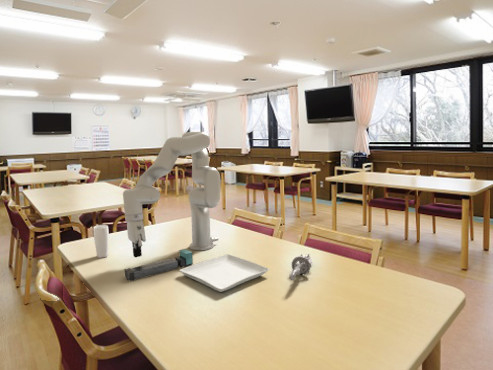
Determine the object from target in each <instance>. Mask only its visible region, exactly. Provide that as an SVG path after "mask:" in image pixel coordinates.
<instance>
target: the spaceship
mask: <svg viewBox="0 0 493 370" xmlns="http://www.w3.org/2000/svg"><path fill="white" fill-rule="evenodd" d="M312 263H313V261H312V257H311V254H310V253H308V254H307V253H306V255H305V254H304V255H303V254H302V253H301V255H299V256H296V257H295V258H293V259H292V262H291V271H290V272H289V279H290V280H295V278H296V276H297V275H298V274H299V275H298V276H301V275H300V274H305V275H307V274H308V273H309V272H310V271H311V264H312Z"/></svg>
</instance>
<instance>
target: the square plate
mask: <svg viewBox="0 0 493 370" xmlns="http://www.w3.org/2000/svg"><path fill="white" fill-rule="evenodd" d="M268 271H270V268H269V267H266V266H263V265H261V264H258V263H256V262H253V261H250V260H247V259H245V258H241V257H239V256H235V255H233V254H230V253H229V254H228V253H225V254H222V255H219V256H216V257H212V258H209V259H207V260H204V261H201V262H198V263H193V265H189V266H185V267H182V268H181V269H179V272H180V273H181V274H182V275H184V276H186V277H187V278H189V279H192V280H194V281H197V282H198V283H201V284H203V285H205V286H207V287H209V288H210V289H212V290H215V291H216V292H220V293H221V292H225V291H227V290H228V291H229V290H231V289H232V288H235V287H237V286H239V285H241V284H244V283H246V282H248V281H251V280H254V279H256V278H259V277H260V276H263V275H264V274H266V273H267V272H268Z"/></svg>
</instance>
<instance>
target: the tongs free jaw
mask: <svg viewBox="0 0 493 370" xmlns="http://www.w3.org/2000/svg"><path fill="white" fill-rule="evenodd" d="M172 260H176V259H174V258H173V257H172V258H167V259H164V260H159V261H156V262H152V263H147V264H143V265H139V266H134V267H131V268H130V267H128V268H125V269H124V277H125V278H126V279H127V271H130V270H135V269H140V268H144V267H148V266H152V265H156V264H160V263H164V262H168V261H172Z"/></svg>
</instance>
